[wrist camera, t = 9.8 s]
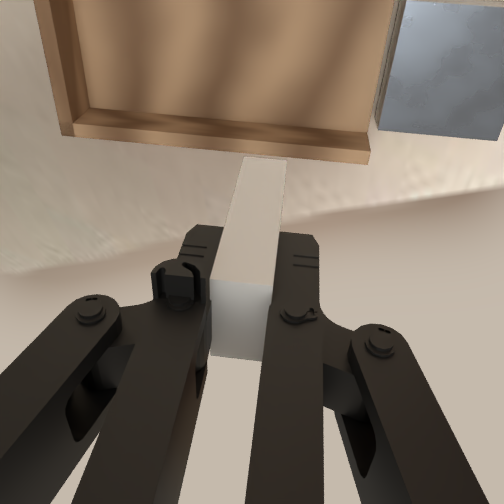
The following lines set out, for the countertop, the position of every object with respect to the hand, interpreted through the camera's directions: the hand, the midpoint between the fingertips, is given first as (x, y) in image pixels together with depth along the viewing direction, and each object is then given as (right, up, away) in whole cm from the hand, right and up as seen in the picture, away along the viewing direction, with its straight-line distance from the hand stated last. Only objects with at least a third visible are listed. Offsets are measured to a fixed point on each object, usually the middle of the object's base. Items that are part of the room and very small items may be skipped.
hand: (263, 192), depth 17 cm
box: (-3, +12, +16) cm, 20 cm away
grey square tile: (+13, +10, +15) cm, 22 cm away
